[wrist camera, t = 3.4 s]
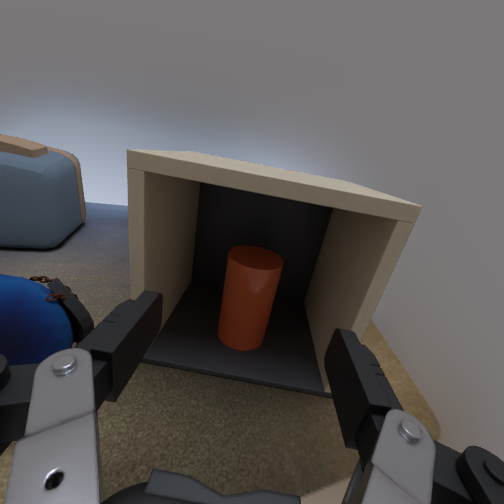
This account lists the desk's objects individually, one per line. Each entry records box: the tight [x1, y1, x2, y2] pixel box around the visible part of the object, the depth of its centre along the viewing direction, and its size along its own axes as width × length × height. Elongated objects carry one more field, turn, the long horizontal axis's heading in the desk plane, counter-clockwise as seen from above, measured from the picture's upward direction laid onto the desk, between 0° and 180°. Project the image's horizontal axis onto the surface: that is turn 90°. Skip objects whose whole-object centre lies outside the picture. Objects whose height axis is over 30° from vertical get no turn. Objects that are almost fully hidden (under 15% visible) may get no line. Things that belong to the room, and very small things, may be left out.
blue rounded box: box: [0, 134, 86, 249], centre depth 40 cm, size 16×16×16 cm
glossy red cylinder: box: [217, 245, 284, 351], centre depth 26 cm, size 6×6×10 cm
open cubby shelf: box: [127, 149, 422, 398], centre depth 27 cm, size 20×16×19 cm
